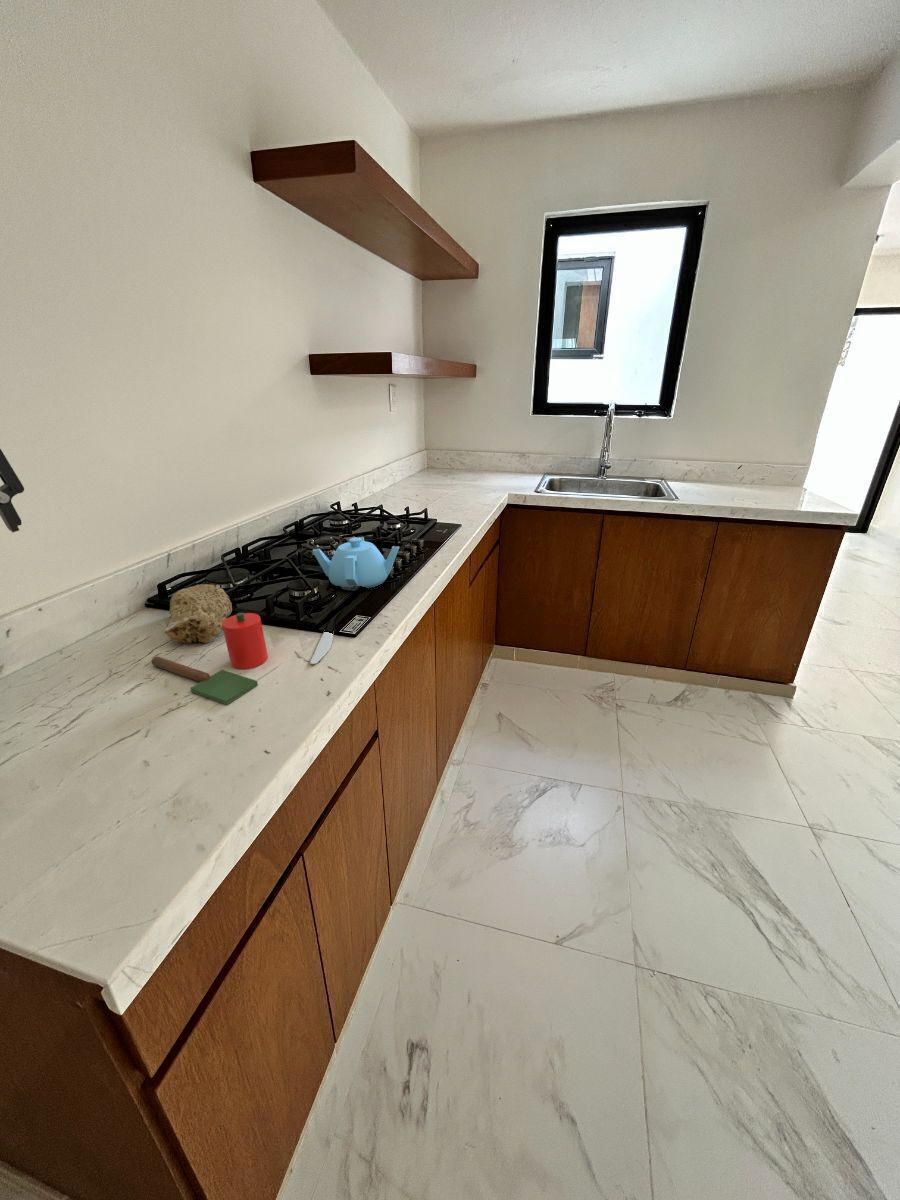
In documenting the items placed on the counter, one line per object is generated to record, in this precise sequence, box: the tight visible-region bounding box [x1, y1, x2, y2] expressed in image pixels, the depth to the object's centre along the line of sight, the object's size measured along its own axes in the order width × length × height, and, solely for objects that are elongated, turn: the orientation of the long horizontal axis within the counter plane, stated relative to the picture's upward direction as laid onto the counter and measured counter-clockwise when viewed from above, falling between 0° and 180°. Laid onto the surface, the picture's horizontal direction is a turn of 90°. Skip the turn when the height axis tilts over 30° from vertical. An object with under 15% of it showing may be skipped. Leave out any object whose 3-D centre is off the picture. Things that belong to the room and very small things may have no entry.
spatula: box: [150, 656, 259, 706], centre depth 80 cm, size 21×6×2 cm, turn 63°
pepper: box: [222, 612, 269, 670], centre depth 84 cm, size 6×6×9 cm
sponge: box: [164, 583, 233, 644], centre depth 98 cm, size 13×8×20 cm
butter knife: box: [309, 631, 334, 665], centre depth 96 cm, size 1×27×3 cm
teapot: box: [312, 536, 400, 588], centre depth 116 cm, size 15×15×11 cm
